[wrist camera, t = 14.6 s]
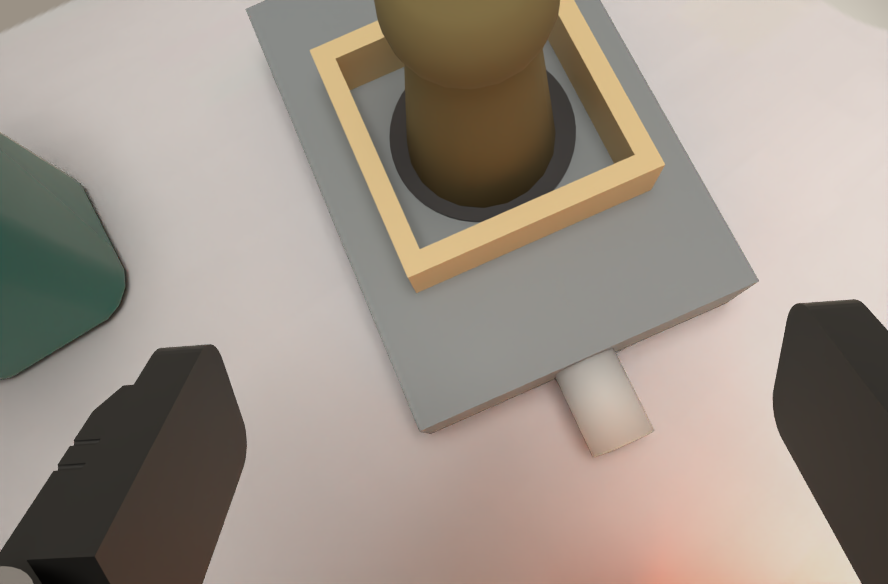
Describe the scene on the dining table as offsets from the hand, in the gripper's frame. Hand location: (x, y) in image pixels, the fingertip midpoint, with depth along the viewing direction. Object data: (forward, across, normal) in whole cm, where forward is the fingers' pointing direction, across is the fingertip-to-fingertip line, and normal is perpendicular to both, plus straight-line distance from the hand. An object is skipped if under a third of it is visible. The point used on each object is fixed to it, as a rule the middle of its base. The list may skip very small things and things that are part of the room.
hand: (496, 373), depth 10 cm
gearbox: (+22, -1, +7) cm, 23 cm away
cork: (+20, 0, +4) cm, 20 cm away
